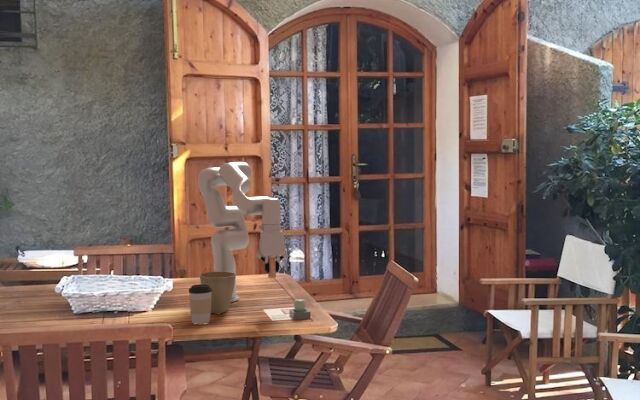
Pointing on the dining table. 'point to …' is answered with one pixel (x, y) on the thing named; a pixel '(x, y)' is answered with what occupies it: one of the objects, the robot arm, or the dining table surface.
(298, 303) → the button
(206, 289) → the coffee cup
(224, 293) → the plant pot
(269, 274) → the marker
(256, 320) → the dining table surface
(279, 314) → the colouring board
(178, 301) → the dining table surface
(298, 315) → the button housing
